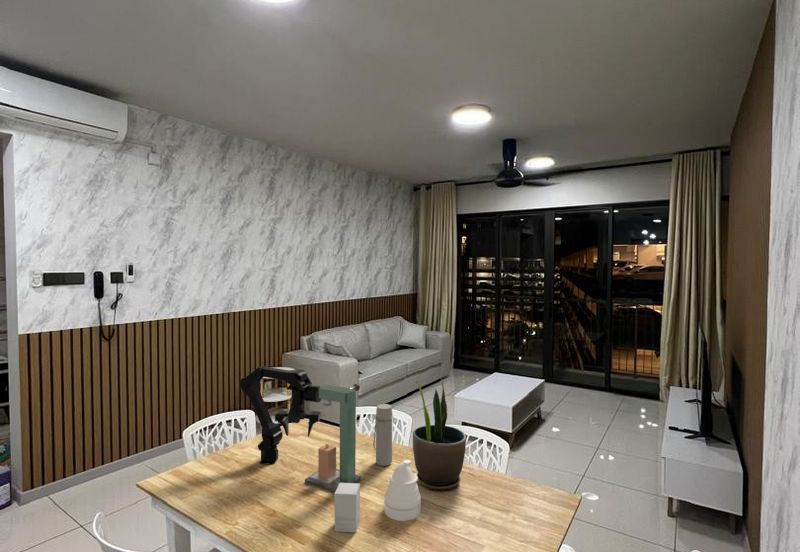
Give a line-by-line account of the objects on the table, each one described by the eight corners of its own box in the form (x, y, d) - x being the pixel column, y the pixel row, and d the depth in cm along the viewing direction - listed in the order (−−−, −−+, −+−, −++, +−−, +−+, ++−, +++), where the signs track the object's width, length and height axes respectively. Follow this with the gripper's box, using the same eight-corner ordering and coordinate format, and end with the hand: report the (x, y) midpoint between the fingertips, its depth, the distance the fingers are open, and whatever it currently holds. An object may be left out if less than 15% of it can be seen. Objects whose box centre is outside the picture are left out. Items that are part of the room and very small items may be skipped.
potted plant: (451, 465, 184) (452, 373, 183) (475, 490, 163) (476, 387, 163) (405, 472, 178) (406, 377, 177) (423, 499, 157) (424, 391, 156)
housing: (318, 475, 170) (318, 444, 170) (326, 470, 174) (326, 440, 174) (328, 478, 168) (328, 447, 167) (336, 473, 172) (336, 443, 172)
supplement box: (360, 519, 144) (360, 483, 144) (356, 533, 136) (356, 494, 136) (339, 518, 145) (339, 481, 144) (333, 531, 137) (334, 493, 137)
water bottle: (395, 461, 187) (396, 405, 187) (385, 468, 180) (386, 410, 180) (378, 456, 192) (379, 401, 192) (368, 463, 185) (368, 406, 185)
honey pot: (428, 509, 150) (428, 459, 150) (403, 525, 141) (404, 472, 140) (401, 496, 159) (402, 448, 159) (376, 510, 150) (377, 459, 149)
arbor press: (304, 482, 168) (305, 388, 167) (335, 463, 185) (335, 377, 185) (341, 494, 159) (342, 395, 159) (369, 473, 177) (370, 383, 176)
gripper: (270, 405, 174) (270, 443, 174) (315, 406, 174) (315, 444, 174) (278, 397, 185) (278, 432, 186) (321, 398, 185) (321, 433, 185)
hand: (298, 435), depth 182 cm, fingers open, 9 cm apart
